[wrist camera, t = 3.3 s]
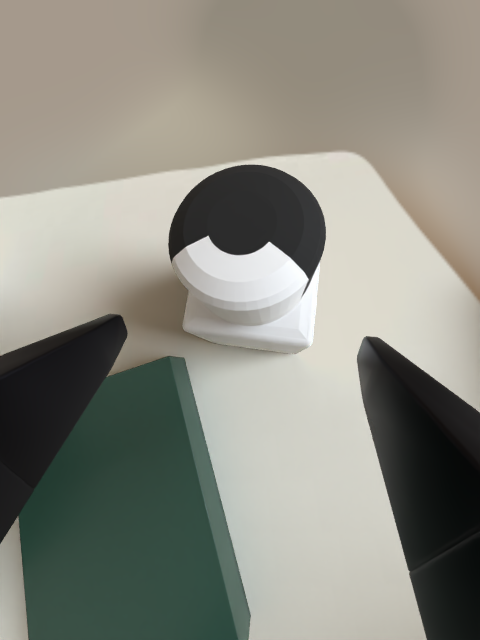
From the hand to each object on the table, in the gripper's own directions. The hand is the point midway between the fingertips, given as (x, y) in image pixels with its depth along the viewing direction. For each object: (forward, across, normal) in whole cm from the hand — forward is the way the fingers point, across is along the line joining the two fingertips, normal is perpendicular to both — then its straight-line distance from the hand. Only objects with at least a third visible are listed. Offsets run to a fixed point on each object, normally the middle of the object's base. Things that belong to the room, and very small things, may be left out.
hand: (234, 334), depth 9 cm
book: (-1, +8, +16) cm, 18 cm away
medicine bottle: (+10, 0, +5) cm, 12 cm away
